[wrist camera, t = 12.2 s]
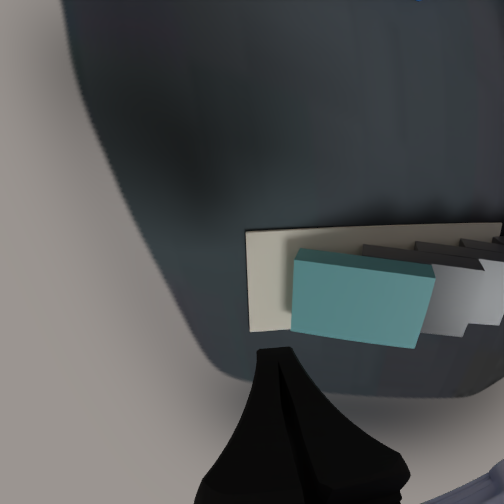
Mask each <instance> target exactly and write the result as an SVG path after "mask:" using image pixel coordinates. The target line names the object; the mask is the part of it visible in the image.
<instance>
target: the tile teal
mask: <svg viewBox="0 0 504 504" xmlns="http://www.w3.org/2000/svg"><path fill="white" fill-rule="evenodd" d="M435 280H436V277H435V274H434V271H433V268H432V265H428V264H420V263H413V262H405V261H398V260H390V259H382V258H375V257H367V256H359V255H352V254H344V253H336V252H328V251H320V250H312V249H304V248H300V249H299V251H298V253H297V255H296V257H295V259H294V273H293V295H292V315H291V331H295V332H301V333H307V334H313V335H319V336H325V337H331V338H338V339H344V340H351V341H358V342H365V343H372V344H380V345H388V346H396V347H404V348H413V349H414V348H415V345H416V343H417V340H418V337H419V334H420V331H421V328H422V325H423V321H424V318H425V315H426V312H427V308H428V305H429V302H430V298H431V295H432V291H433V287H434V284H435Z"/></svg>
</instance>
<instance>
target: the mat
mask: <svg viewBox="0 0 504 504" xmlns="http://www.w3.org/2000/svg"><path fill="white" fill-rule="evenodd" d="M501 227H502V223H447V224H409V225H378V226H351V227H327V228H304V229H284V230H264V231H246V253H247V277H248V301H249V324H250V332H258V331H272V330H284V329H291V315H292V295H293V273H294V259H295V257H296V255H297V253H298V251H299V249H300V248H304V249H312V250H320V251H328V252H336V253H344V254H352V255H359V256H361V254H362V246H363V244H367V245H375V246H383V247H391V248H399V249H406V250H414V246H415V241H420V242H427V243H435V244H443V245H450V246H457V247H459V242H460V238H463V239H469V240H476V241H482V242H489V243H492V238H493V237H496V236H500V232H501Z"/></svg>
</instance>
